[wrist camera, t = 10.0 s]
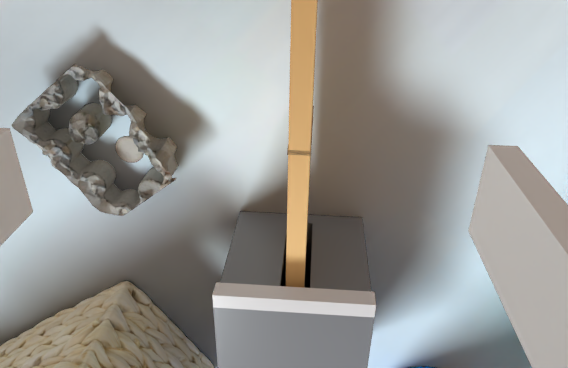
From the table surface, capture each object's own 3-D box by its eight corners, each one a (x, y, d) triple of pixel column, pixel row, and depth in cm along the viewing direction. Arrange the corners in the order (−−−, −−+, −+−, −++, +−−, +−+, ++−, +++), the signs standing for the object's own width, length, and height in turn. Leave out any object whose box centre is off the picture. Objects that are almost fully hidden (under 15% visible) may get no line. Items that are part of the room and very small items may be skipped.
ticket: (306, 254, 39) (303, 319, 33) (290, 253, 40) (284, 318, 33) (320, -46, 29) (319, -34, 22) (298, -47, 29) (290, -35, 22)
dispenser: (348, 340, 47) (354, 454, 37) (244, 333, 47) (223, 444, 37) (363, 207, 39) (376, 305, 29) (239, 200, 40) (212, 295, 30)
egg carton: (194, 159, 39) (181, 185, 35) (127, 204, 41) (109, 232, 38) (97, 47, 35) (71, 63, 31) (29, 104, 37) (-1, 125, 34)
